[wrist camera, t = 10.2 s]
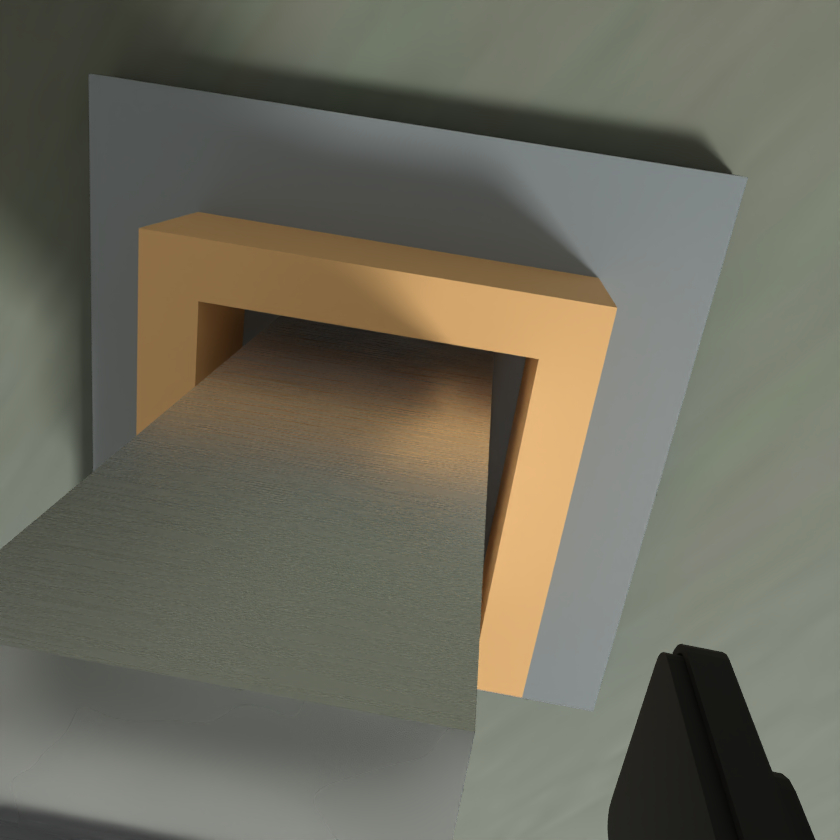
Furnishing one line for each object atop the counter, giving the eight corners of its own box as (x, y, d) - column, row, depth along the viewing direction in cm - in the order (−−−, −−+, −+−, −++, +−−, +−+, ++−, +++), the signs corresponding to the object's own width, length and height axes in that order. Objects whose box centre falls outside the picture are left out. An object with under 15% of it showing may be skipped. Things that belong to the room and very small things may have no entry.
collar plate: (734, 174, 17) (800, 188, 13) (589, 686, 22) (606, 801, 18) (110, 76, 17) (3, 62, 14) (111, 596, 22) (33, 690, 19)
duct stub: (493, 349, 18) (473, 749, 6) (460, 538, 19) (398, 1113, 8) (280, 315, 18) (-110, 642, 7) (266, 505, 20) (-58, 1019, 8)
